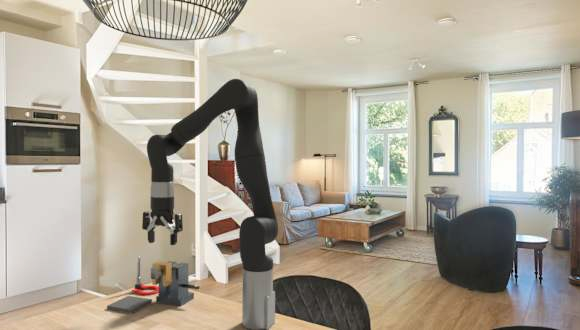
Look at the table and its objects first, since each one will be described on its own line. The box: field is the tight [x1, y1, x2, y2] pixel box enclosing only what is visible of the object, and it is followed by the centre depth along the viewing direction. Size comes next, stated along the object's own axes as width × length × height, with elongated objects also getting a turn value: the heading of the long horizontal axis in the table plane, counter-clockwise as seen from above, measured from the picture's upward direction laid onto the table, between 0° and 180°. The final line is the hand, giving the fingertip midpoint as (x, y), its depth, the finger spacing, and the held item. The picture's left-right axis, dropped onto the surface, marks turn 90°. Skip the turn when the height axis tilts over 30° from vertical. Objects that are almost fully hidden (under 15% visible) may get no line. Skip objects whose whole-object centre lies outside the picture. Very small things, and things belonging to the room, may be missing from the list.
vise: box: [150, 260, 200, 307], centre depth 139 cm, size 15×16×14 cm
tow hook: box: [130, 256, 159, 296], centre depth 152 cm, size 8×13×9 cm
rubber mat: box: [106, 295, 153, 314], centre depth 138 cm, size 10×10×1 cm
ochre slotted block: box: [151, 261, 172, 286], centre depth 136 cm, size 5×3×7 cm, turn 71°
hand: (162, 243), depth 136 cm, fingers open, 8 cm apart
